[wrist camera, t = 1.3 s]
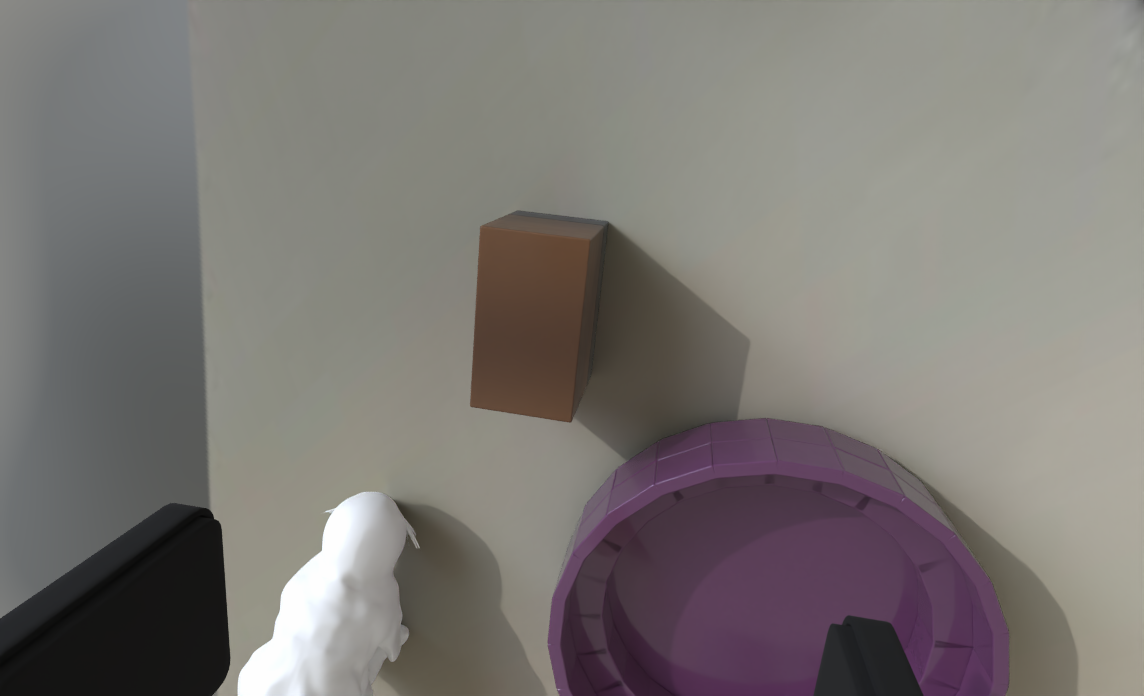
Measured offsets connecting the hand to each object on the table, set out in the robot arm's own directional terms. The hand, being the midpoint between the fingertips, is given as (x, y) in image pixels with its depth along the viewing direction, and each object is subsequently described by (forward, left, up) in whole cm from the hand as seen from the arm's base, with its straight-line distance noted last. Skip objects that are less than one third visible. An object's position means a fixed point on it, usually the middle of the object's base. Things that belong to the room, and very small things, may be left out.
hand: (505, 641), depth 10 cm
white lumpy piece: (+16, -12, -21) cm, 29 cm away
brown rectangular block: (0, -3, -21) cm, 21 cm away
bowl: (+13, +8, -21) cm, 26 cm away
